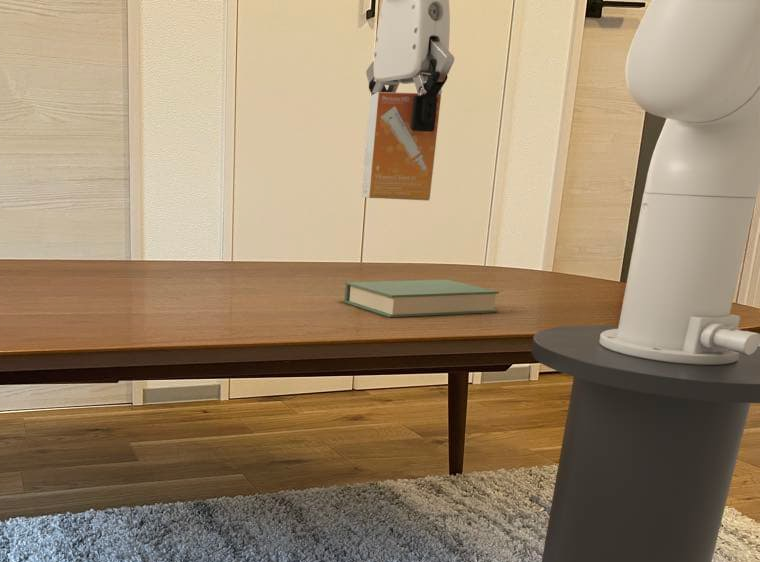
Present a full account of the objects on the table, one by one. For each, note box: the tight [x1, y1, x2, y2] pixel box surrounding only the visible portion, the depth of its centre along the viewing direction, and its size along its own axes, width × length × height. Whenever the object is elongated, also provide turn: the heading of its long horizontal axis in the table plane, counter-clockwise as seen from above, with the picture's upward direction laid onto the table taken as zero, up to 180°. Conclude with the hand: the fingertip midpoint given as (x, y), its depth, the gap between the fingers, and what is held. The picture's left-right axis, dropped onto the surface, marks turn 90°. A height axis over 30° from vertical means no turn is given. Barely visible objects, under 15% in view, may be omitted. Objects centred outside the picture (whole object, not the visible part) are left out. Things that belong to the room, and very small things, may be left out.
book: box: [343, 278, 500, 318], centre depth 113 cm, size 12×18×3 cm, turn 112°
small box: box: [361, 92, 442, 201], centre depth 102 cm, size 8×6×13 cm
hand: (401, 131), depth 101 cm, fingers closed on small box, 8 cm apart
